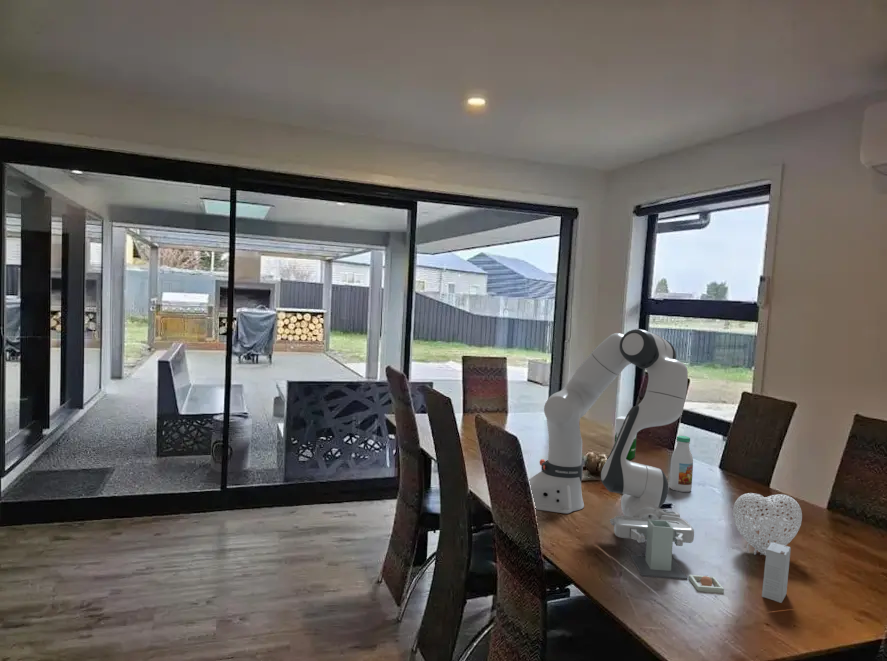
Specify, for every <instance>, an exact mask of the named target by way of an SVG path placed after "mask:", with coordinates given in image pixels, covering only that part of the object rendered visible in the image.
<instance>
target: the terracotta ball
mask: <svg viewBox="0 0 887 661" xmlns="http://www.w3.org/2000/svg"><path fill="white" fill-rule="evenodd" d="M702 576H703V577H702V578H701V581H700V585H701V586H713V582H712V580H711V579H710V578H709V577H707V576H708V575H702Z"/></svg>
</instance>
